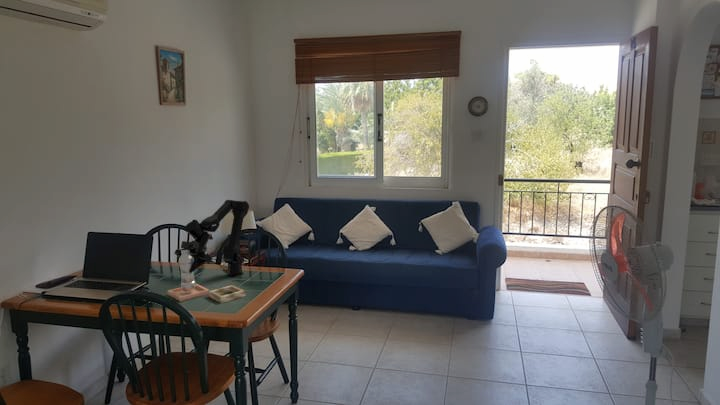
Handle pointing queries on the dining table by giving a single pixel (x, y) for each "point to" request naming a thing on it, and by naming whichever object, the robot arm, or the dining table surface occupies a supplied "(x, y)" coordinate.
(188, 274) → the plastic bottle
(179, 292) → the tray
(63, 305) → the dining table surface
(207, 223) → the robot arm
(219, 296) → the collar
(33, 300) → the dining table surface
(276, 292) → the dining table surface
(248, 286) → the dining table surface
